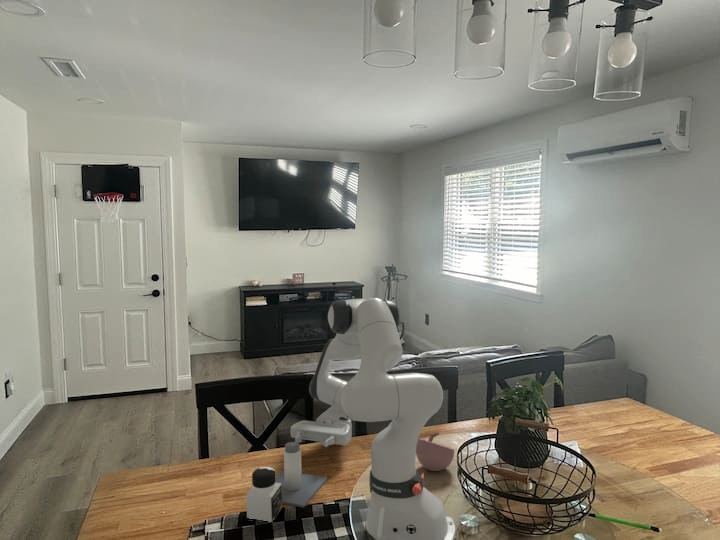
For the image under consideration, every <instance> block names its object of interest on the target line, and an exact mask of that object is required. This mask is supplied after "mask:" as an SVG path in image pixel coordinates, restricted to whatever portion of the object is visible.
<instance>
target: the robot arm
mask: <svg viewBox="0 0 720 540" xmlns="http://www.w3.org/2000/svg"><path fill="white" fill-rule="evenodd" d="M327 321H328V325H329V328H330V330H331V331H332V332H333V333H335V334H336V335H335V337H334V338H329V340H328V341H327V342H326V343H325V345H324V347H323V350H322V351H321V354H320V357H319V360H318V363H317V365H316V368H315V370H314V371H315V372H314V374H313V375H312V376H313V377H312V379H311V381H310V383H309V386H308V391H309V394H310V396H311V398H312V399H314V400H316V401H319V402H323V403H325V404H327V405H330V407H329V408H327V409H326V410H325V411H324V412H323V413H321V415H319V416H318V417H317V418H316V420H315V421H312V420H300V421H298V422H296V423H294V424H293V425H291V427H290V437H291V438H293V439H294V442H298V443H299V444H301V442H302V441H303V440H305V441H312V442H313V441H314V442H319V443H322V444H321V446H322V447H326V448H327V447H328V446H330V445H338V446H339V445H341V446H346V445H348V444H349V443H350V442H351V439H352V435H353V425H352V421H354V422H355V421H356V422H361V423H362V422H363V423H365V422H366V423H374V422H375V423H376V422H383V421H384V422H387V421H391V422H390V423H389V424H388V425H387V427H385V428H384V429H382V430H381V431H380V432H378V433H377V434H376V435H375V436H374V438H373V440H372V442H371V445H370V450H371V451H370V453H371V454H370V455H371V456H370V457H371V459H370V460H371V462H370V464H371V468H370V469H371V470H370V471H369V477H368V478H369V479H368V482H369V484H368V485H369V492H370V501H369V507H368V508H369V509H368V514H367V518H366V521H365V529H366V531H367V533H368V535H370V536H371V537H372V538H373V539H374V540H455V538H456V532H457V530H456V523H455V521H454V520H453V518H452V517H450V516H448V515H447V514H446V508H445V506H444V503H443V502H442V500H441V499H440V498H439V497H437V496H436V495H434V494H433V493H432V492H430V490H428V489H427V488H426V487H425V486H424V479H425V478H424V477H425V475H424V472H422V473H421V475H420V474H419V473H418V472H417V470H416V458H417V455H416V445H417V441H418V439H419V437H420V434H421V432H422V430H423V428H424V427H425V426H426V424H427V422H428V420H430V419H431V418H432V417H433V416H434V415H435V414H436V413H438V411H439V410H440V409H441V407H442V404H443V401H444V391H443V387H442V385H441V383H440V381H439V380H438V379H437V377H435V376H434V375H433V374H429V373H423V372H421V373H420V372H407V373H406V372H405V373H392V374H391V373H390V374H389V373H387V371H389V370H390V369H392V368H395V366H396V365H397V364H398V363H399V362H400V361H401V360H402V357H403V354H404V353H403V352H404V351H403V345H402V342H401V339H400V335H399V331H398V327H399V324H400V311H399V307H398V305H397V304H396V303H395V302H394V301H392V300H388V299H381V298H378V297H369V298H352V299H344V298H343V299H342V298H341V299H338V300H334V301H333V302H332V303H331V304H330V306H329V309H328V313H327ZM358 358H361V359H360V360H361V361H360V365H359V368H358V370H357V372H356V374H354V376H353V377H352V378H351V379H349V381H347V380H343V379H341V378H338V377H336V376H334V375H332V374H331V373H330V369H331V367H332V363H333V362H334V361H337V360H338V361H352V360H356V359H358Z"/></svg>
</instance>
